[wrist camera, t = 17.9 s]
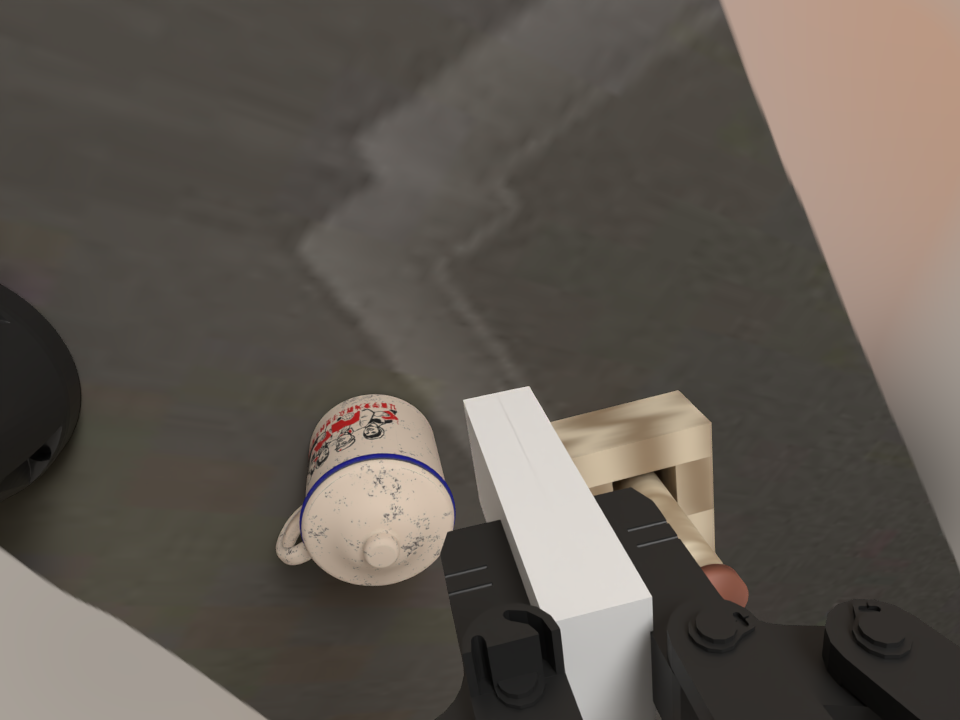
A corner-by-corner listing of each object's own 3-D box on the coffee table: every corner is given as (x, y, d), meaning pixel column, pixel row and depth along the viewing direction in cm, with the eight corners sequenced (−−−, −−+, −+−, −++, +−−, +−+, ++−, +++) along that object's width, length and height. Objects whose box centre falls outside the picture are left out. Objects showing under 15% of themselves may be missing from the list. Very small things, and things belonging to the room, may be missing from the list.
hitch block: (580, 638, 59) (610, 709, 53) (549, 422, 50) (580, 477, 43) (689, 607, 60) (731, 674, 54) (678, 390, 51) (728, 439, 44)
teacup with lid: (390, 364, 45) (405, 456, 35) (461, 456, 49) (494, 564, 39) (243, 459, 46) (214, 576, 36) (324, 542, 50) (320, 671, 40)
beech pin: (596, 489, 53) (683, 638, 39) (591, 446, 51) (681, 586, 38) (645, 477, 53) (748, 619, 40) (641, 434, 52) (748, 568, 38)
